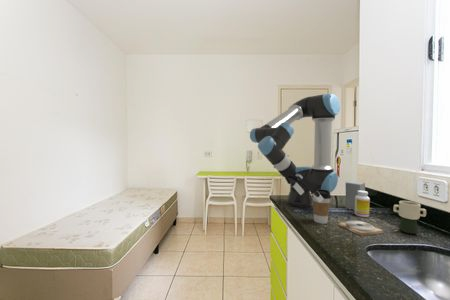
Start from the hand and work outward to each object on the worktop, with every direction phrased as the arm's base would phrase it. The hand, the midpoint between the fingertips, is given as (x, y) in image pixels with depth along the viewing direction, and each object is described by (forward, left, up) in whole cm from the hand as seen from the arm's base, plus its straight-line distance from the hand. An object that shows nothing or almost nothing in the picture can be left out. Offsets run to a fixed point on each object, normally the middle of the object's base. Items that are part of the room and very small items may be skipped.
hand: (311, 196), depth 103 cm
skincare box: (-12, +39, -13) cm, 43 cm away
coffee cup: (-1, +6, -13) cm, 14 cm away
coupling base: (+11, +17, -13) cm, 24 cm away
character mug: (+19, +35, -13) cm, 42 cm away
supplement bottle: (-3, +34, -13) cm, 37 cm away
